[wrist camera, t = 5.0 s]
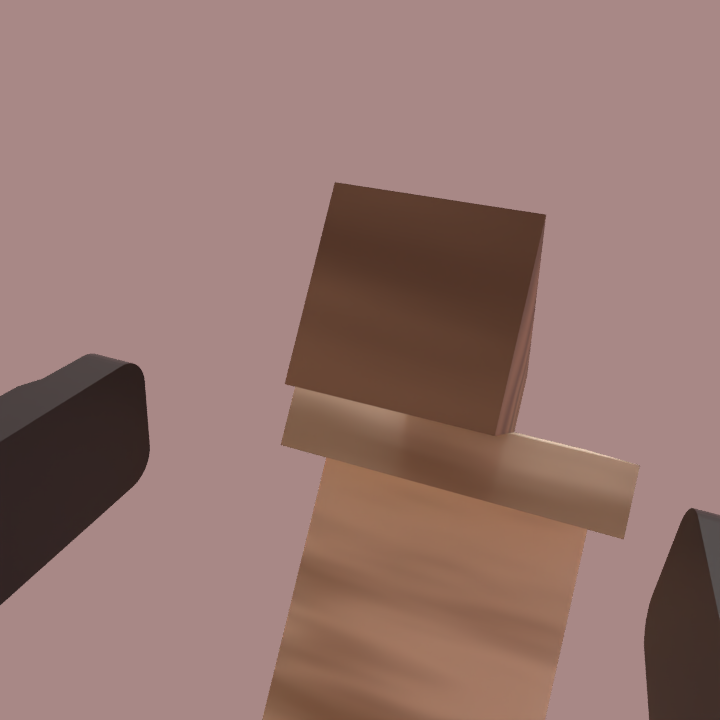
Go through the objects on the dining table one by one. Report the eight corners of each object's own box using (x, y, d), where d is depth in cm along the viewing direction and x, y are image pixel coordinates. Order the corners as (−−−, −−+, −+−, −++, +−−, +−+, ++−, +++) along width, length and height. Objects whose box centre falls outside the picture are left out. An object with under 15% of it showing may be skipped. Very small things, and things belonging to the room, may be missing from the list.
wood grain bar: (494, 436, 8) (545, 214, 8) (284, 383, 9) (335, 182, 9) (514, 432, 33) (526, 376, 34) (457, 418, 34) (470, 364, 34)
